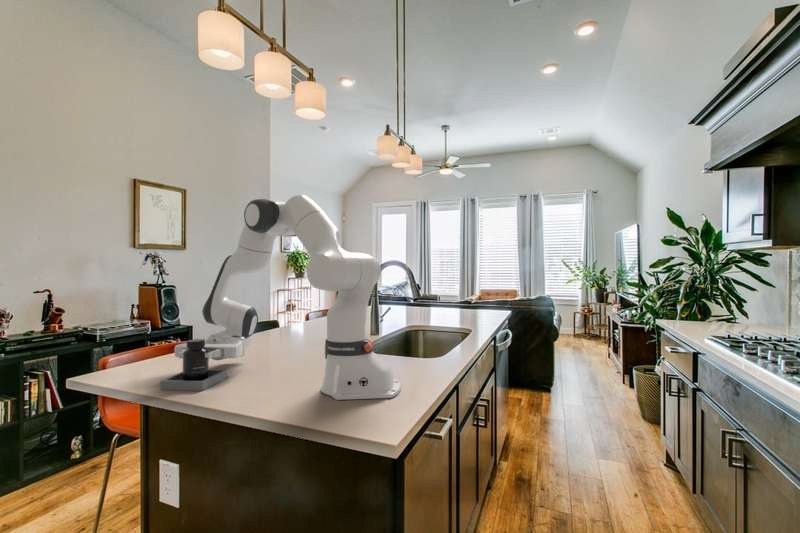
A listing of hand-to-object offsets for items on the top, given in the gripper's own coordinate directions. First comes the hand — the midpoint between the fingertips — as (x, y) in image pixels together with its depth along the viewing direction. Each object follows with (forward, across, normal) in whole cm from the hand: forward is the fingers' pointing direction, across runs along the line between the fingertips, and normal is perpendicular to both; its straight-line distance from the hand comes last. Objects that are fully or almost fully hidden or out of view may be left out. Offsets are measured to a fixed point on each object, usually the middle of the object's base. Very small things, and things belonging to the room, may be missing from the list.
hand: (194, 355), depth 112 cm
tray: (-1, 0, +8) cm, 8 cm away
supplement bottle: (-1, 0, +8) cm, 8 cm away
